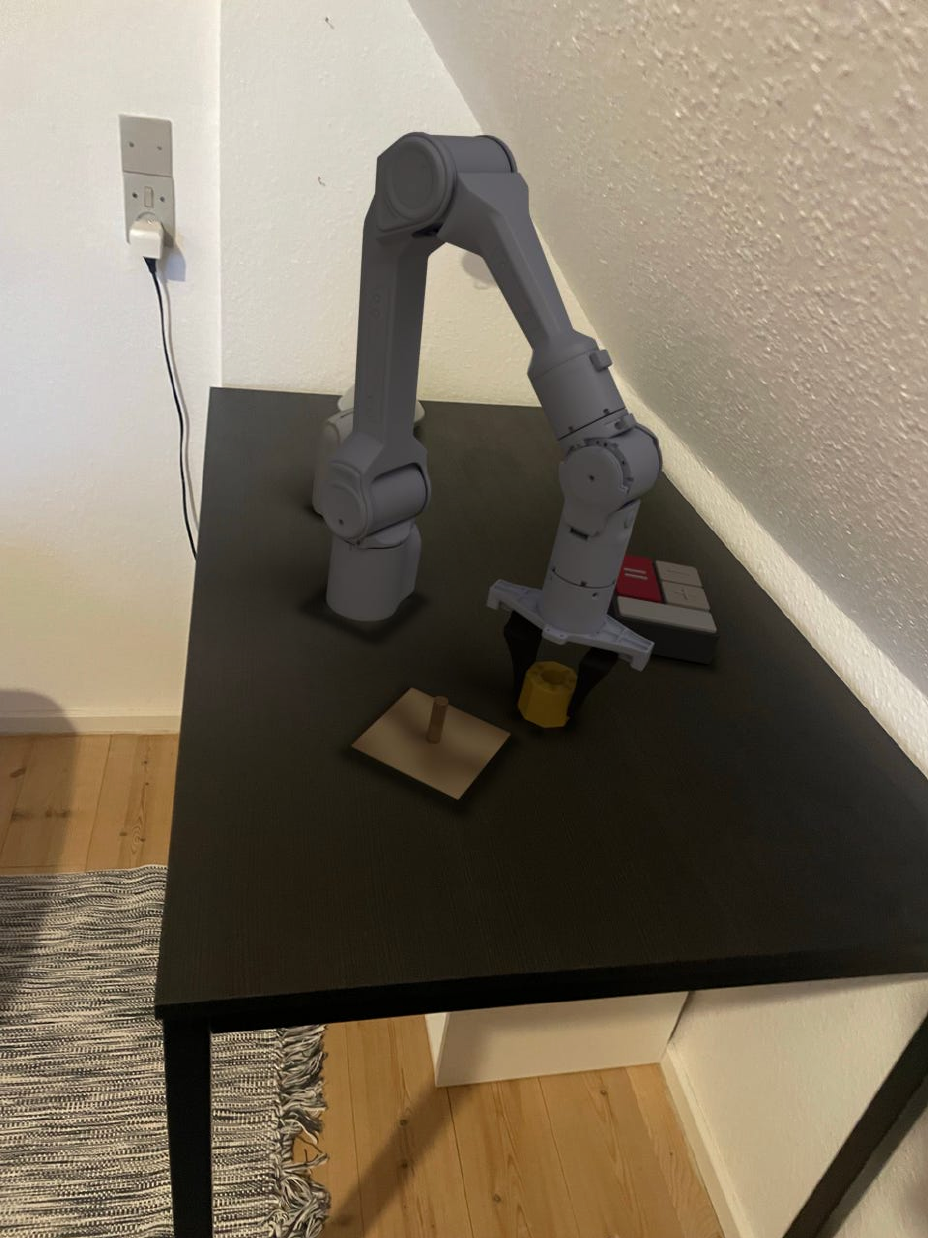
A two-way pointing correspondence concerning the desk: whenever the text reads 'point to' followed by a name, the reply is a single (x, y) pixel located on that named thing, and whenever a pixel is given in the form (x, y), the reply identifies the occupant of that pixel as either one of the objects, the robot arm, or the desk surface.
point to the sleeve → (547, 694)
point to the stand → (432, 742)
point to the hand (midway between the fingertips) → (546, 699)
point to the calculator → (665, 608)
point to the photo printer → (329, 448)
